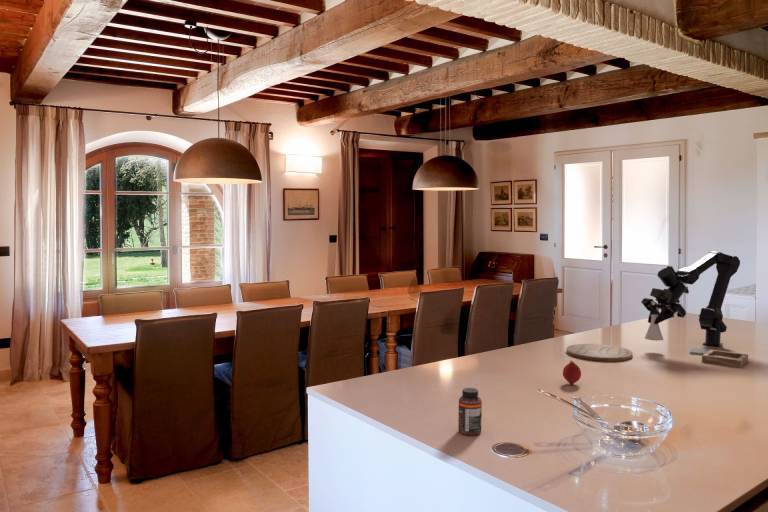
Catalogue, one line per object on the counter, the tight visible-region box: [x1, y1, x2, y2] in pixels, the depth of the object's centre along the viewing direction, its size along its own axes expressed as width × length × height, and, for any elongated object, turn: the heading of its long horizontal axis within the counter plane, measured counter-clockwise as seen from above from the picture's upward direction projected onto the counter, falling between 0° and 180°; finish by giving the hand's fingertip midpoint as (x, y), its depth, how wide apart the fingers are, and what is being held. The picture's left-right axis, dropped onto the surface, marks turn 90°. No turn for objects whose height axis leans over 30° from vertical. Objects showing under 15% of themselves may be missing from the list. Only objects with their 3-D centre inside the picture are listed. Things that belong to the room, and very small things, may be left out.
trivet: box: [566, 343, 634, 363], centre depth 250 cm, size 25×25×2 cm
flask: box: [644, 314, 664, 342], centre depth 254 cm, size 7×7×10 cm
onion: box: [562, 359, 582, 385], centre depth 207 cm, size 6×6×8 cm
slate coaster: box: [689, 347, 712, 356], centre depth 253 cm, size 9×9×1 cm
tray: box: [701, 349, 749, 368], centre depth 239 cm, size 13×13×2 cm
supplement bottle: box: [457, 387, 483, 437], centre depth 163 cm, size 6×6×11 cm
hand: (651, 323), depth 254 cm, fingers closed on flask, 3 cm apart
